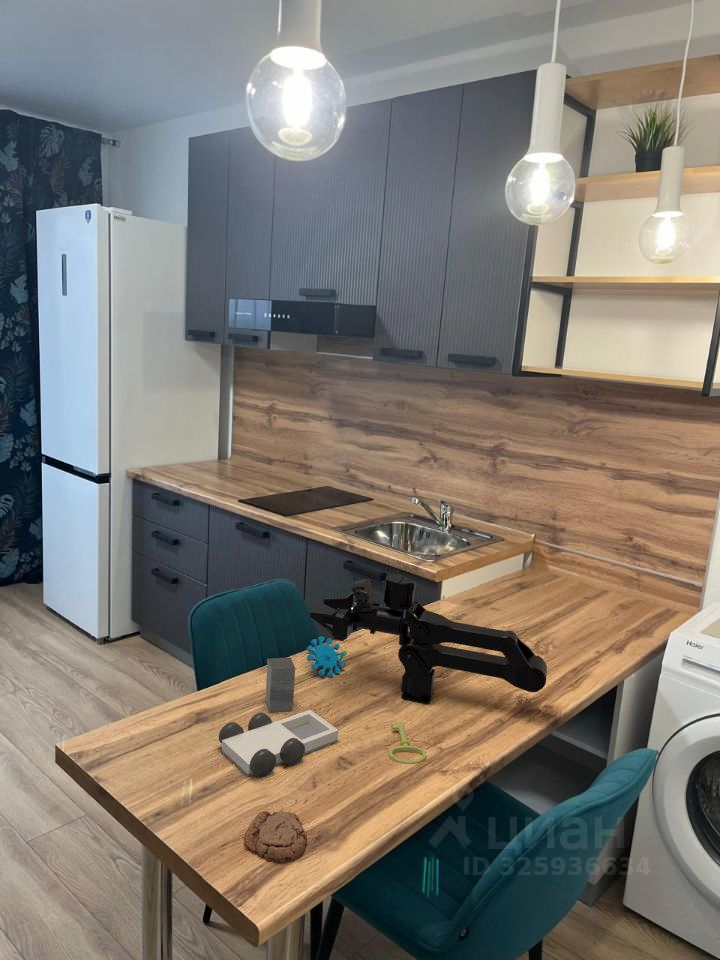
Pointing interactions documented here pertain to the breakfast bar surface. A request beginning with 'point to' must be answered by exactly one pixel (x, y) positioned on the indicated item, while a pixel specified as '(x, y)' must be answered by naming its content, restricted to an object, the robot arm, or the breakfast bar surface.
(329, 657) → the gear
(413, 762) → the key
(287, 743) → the chassis
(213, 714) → the breakfast bar surface
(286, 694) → the block
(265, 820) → the cookie
